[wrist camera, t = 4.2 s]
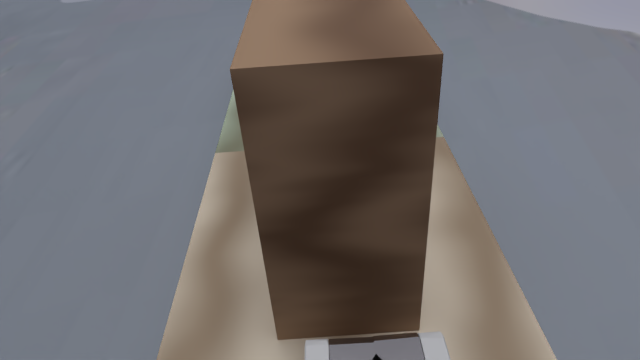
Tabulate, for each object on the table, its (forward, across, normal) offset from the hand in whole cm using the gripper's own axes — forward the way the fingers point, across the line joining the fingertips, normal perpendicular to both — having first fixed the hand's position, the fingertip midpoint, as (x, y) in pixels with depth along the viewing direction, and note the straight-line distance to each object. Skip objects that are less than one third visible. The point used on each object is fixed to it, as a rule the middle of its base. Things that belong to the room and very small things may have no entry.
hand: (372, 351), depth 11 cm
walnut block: (+13, 0, -8) cm, 15 cm away
